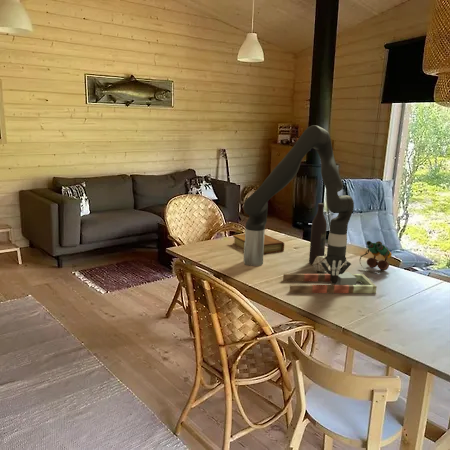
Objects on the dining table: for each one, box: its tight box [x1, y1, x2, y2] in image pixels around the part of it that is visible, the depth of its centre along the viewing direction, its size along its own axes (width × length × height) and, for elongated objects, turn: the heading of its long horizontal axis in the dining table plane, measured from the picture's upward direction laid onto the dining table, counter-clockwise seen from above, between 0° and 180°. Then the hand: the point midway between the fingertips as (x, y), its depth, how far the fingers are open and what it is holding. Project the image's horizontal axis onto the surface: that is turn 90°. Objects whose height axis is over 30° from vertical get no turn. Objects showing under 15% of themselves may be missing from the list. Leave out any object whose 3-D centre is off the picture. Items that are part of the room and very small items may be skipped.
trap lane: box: [282, 273, 378, 294], centre depth 187 cm, size 36×15×3 cm, turn 94°
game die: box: [310, 253, 330, 274], centre depth 206 cm, size 9×8×10 cm
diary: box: [232, 233, 285, 255], centre depth 243 cm, size 23×19×6 cm
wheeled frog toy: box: [359, 240, 393, 274], centre depth 209 cm, size 14×14×15 cm
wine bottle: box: [308, 202, 328, 265], centre depth 215 cm, size 7×7×30 cm
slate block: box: [334, 271, 357, 285], centre depth 190 cm, size 7×7×4 cm
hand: (333, 283), depth 187 cm, fingers closed
